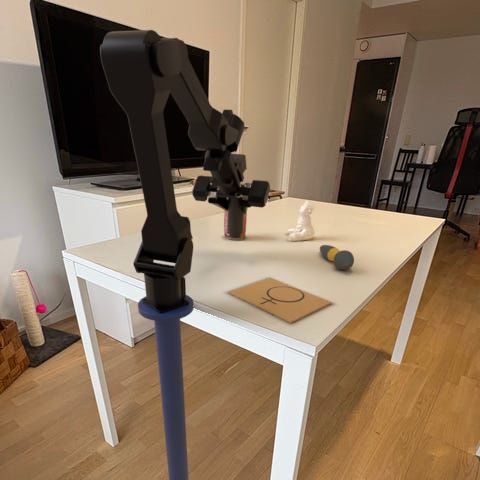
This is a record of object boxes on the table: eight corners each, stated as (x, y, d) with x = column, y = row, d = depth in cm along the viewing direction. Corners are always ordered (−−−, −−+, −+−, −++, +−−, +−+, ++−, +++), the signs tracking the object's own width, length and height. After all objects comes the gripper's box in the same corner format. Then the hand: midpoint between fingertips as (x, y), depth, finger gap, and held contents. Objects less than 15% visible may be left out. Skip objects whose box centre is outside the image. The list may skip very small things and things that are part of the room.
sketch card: (290, 323, 62) (291, 321, 62) (228, 293, 73) (228, 291, 73) (331, 303, 70) (331, 301, 70) (269, 279, 81) (270, 277, 81)
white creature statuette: (287, 233, 119) (291, 197, 113) (312, 235, 118) (317, 199, 112) (288, 241, 110) (292, 202, 105) (315, 242, 110) (320, 204, 104)
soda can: (219, 237, 111) (219, 198, 106) (235, 233, 116) (236, 196, 110) (233, 242, 107) (235, 202, 101) (250, 238, 111) (252, 200, 105)
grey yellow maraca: (308, 251, 101) (311, 235, 98) (324, 251, 102) (327, 234, 100) (342, 276, 84) (346, 257, 82) (360, 275, 85) (364, 256, 83)
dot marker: (234, 239, 91) (236, 187, 85) (223, 236, 93) (224, 185, 88) (246, 237, 93) (249, 186, 87) (235, 234, 96) (237, 185, 90)
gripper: (271, 143, 77) (278, 189, 91) (196, 139, 82) (214, 183, 96) (259, 184, 74) (268, 225, 88) (181, 177, 79) (202, 217, 93)
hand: (237, 211), depth 92 cm, fingers closed on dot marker, 4 cm apart
